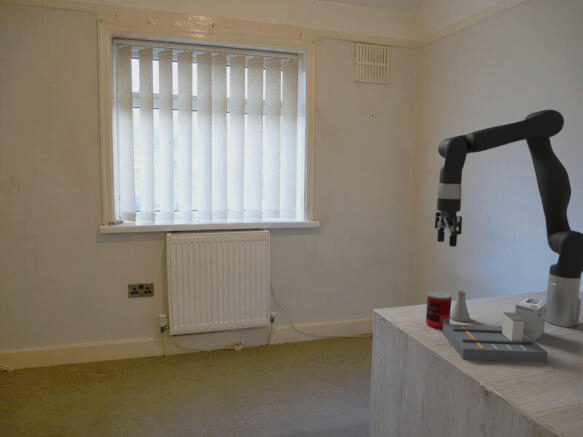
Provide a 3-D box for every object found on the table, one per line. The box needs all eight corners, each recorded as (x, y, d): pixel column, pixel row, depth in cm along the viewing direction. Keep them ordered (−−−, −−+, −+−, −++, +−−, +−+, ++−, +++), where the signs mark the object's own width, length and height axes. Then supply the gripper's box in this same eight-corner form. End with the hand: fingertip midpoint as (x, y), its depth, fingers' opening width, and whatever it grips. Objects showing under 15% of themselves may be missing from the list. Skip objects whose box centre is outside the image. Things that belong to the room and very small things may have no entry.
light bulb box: (522, 326, 138) (525, 296, 137) (544, 333, 133) (548, 301, 132) (511, 335, 131) (515, 303, 129) (535, 342, 126) (538, 309, 125)
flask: (466, 315, 148) (468, 289, 147) (473, 322, 141) (475, 295, 140) (446, 314, 149) (448, 288, 147) (452, 321, 142) (454, 294, 140)
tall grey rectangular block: (511, 333, 124) (514, 312, 123) (522, 342, 118) (524, 320, 117) (501, 332, 124) (503, 312, 124) (511, 341, 118) (513, 319, 117)
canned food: (448, 322, 141) (451, 291, 139) (449, 330, 133) (452, 298, 132) (425, 319, 143) (427, 289, 142) (425, 327, 136) (427, 295, 134)
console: (514, 335, 130) (515, 325, 130) (546, 362, 112) (547, 350, 112) (442, 332, 131) (443, 322, 131) (462, 358, 114) (463, 346, 113)
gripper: (471, 198, 130) (467, 248, 132) (449, 195, 144) (446, 240, 146) (449, 198, 129) (446, 248, 131) (429, 195, 143) (427, 240, 145)
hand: (446, 243), depth 139 cm, fingers open, 8 cm apart
